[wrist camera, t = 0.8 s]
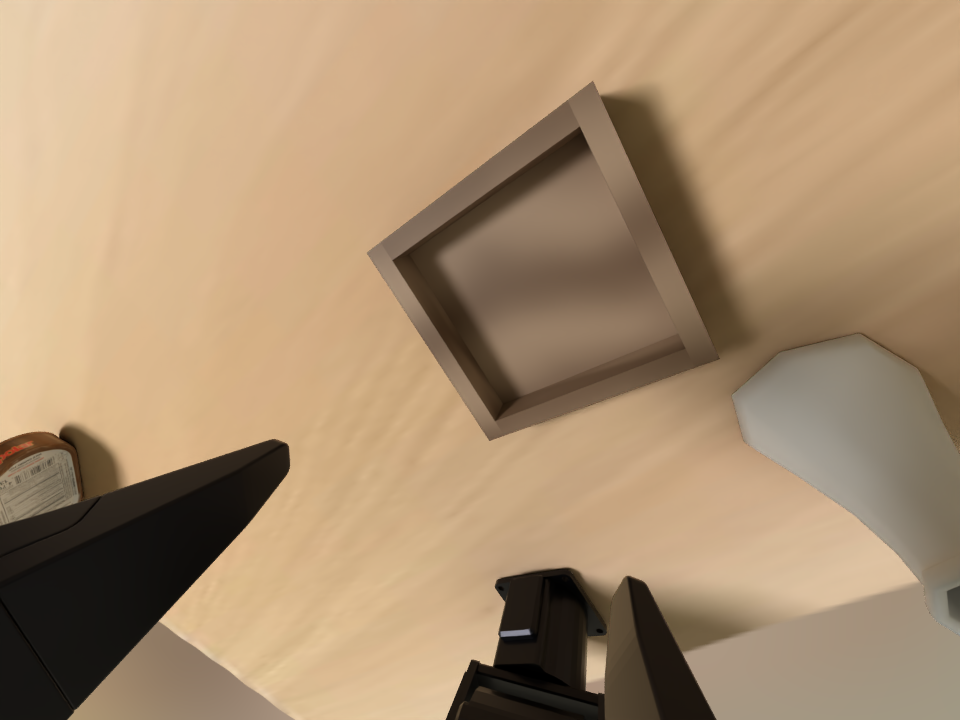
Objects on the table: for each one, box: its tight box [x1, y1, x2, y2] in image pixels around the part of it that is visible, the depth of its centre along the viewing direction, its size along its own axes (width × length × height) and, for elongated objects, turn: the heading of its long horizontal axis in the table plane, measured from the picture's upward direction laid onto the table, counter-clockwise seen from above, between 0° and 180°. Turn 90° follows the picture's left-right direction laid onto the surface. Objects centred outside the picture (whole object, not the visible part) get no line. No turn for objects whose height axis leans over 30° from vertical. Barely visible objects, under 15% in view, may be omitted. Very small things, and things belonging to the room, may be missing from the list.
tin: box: [0, 432, 83, 525], centre depth 40 cm, size 15×3×8 cm, turn 154°
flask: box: [732, 333, 960, 636], centre depth 14 cm, size 7×7×10 cm
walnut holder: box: [367, 81, 719, 441], centre depth 19 cm, size 12×12×2 cm
